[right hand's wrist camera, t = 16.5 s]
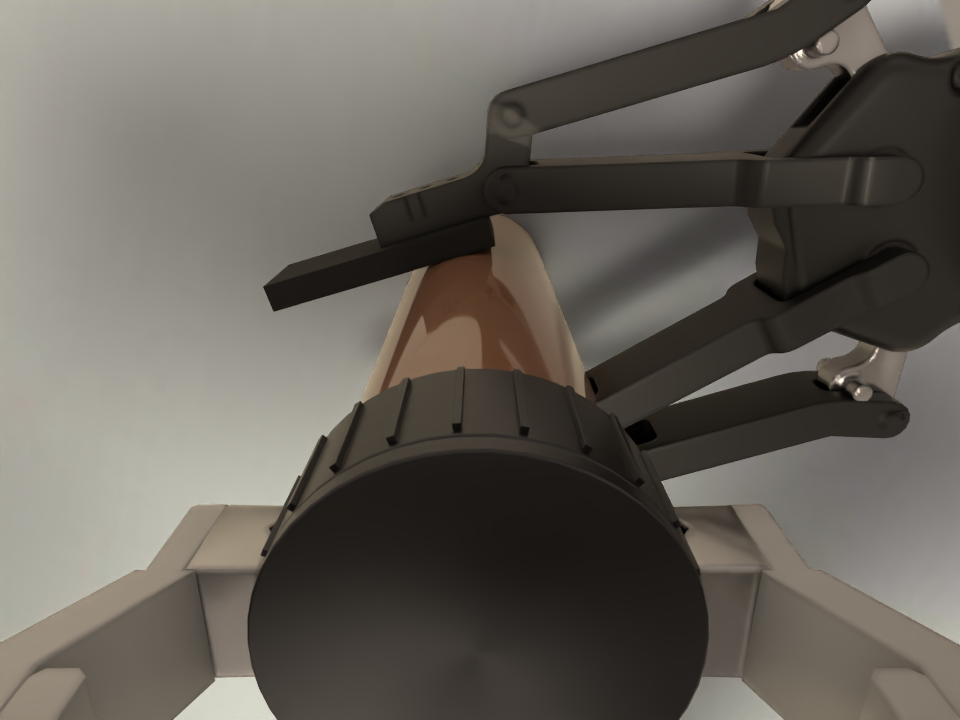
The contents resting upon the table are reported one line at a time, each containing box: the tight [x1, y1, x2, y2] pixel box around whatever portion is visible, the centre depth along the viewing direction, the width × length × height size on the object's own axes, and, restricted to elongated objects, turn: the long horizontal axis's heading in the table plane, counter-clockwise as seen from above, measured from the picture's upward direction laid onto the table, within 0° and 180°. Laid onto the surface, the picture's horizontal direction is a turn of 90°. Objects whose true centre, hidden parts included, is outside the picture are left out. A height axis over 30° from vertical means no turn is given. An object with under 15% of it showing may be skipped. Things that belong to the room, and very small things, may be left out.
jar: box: [361, 214, 600, 408], centre depth 18 cm, size 5×5×19 cm
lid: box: [247, 366, 709, 720], centre depth 9 cm, size 6×6×2 cm
